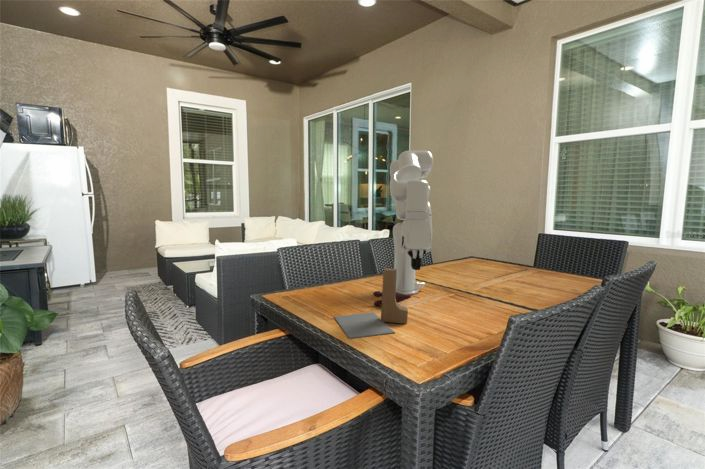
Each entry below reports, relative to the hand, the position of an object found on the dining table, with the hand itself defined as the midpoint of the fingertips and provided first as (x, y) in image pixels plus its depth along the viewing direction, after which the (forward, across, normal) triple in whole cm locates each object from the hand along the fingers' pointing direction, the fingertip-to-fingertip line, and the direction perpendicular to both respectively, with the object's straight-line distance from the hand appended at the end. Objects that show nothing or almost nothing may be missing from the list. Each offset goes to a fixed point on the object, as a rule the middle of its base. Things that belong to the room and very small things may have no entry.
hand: (415, 269), depth 124 cm
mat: (+18, +19, -1) cm, 26 cm away
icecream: (+18, +1, -18) cm, 25 cm away
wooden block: (+18, +8, -1) cm, 20 cm away
